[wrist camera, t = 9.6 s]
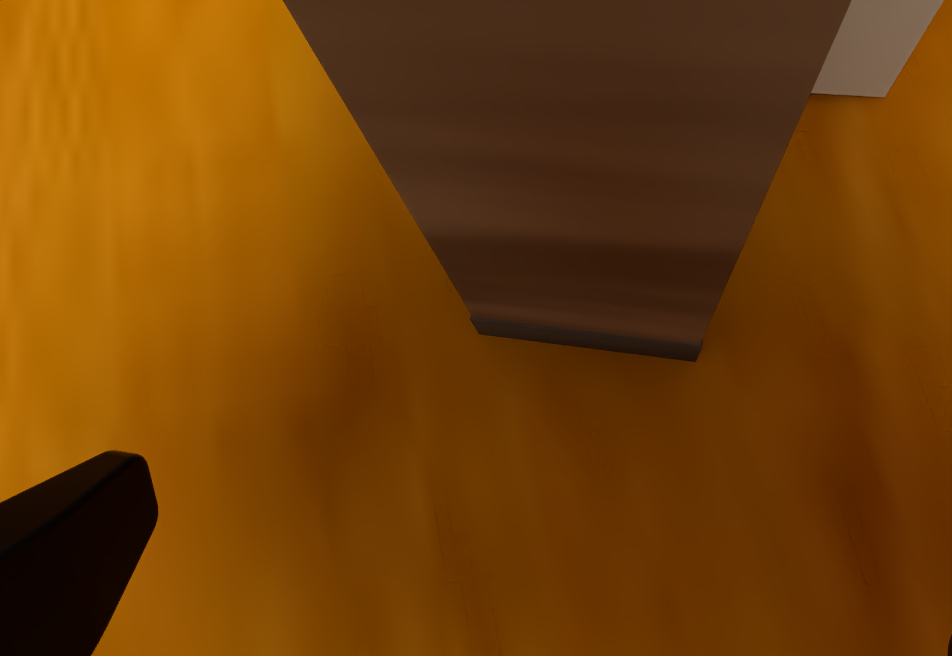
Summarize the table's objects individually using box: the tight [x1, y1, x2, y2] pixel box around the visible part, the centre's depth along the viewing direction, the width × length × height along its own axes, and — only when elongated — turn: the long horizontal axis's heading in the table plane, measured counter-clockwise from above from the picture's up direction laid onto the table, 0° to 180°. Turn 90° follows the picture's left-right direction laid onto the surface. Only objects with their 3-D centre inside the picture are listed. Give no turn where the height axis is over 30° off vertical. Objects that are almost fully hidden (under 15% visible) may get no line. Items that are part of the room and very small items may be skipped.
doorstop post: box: [283, 0, 852, 362], centre depth 12 cm, size 4×4×13 cm
